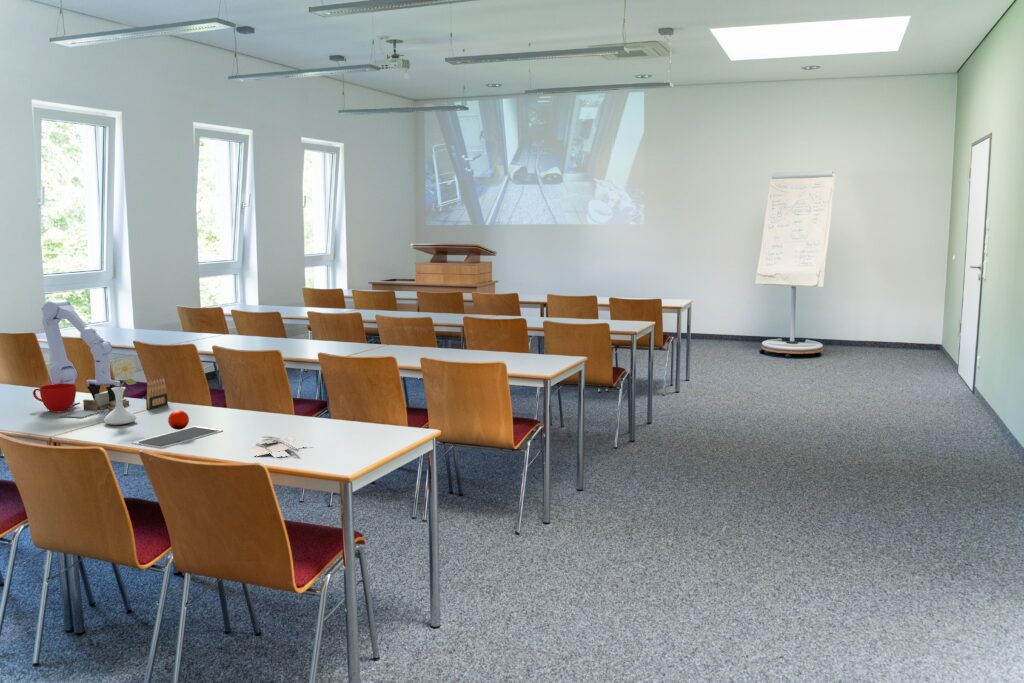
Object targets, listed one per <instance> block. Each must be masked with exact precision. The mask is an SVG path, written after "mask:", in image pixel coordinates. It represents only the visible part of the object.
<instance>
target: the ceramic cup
mask: <svg viewBox="0 0 1024 683" xmlns="http://www.w3.org/2000/svg"><path fill="white" fill-rule="evenodd" d="M37 391H38V392H39V394H40V398H39V396H38V395H37V394H36V392H37ZM32 395H33V396H32V397H34V399H36V400H37V401H39V402H40V403H41V402H42V404H43V405H44V406H45V408H47V410H48V411H49V412H50V413H61V412H68V411H69V409H70V408H72V406H73V405H72V404H73V403H74V400H75V401H76V395H77V386H76V384H75V383H74V384H53V383H51V384H47V385H42V386H40V387H39V388H35V389H34V390H33V391H32Z"/></svg>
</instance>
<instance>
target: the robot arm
mask: <svg viewBox="0 0 1024 683" xmlns="http://www.w3.org/2000/svg"><path fill="white" fill-rule="evenodd" d="M41 311H42V325H43V326H42V327H43V330H44V333H45V337H46V341H47V345H48V348H49V352H50V356H51V360H52V364H51V366H50V367H49V379H50V381H51V384H74V385H75V382H76V381H75V380H77V378H78V372H77V369H76V368H75V367H74V363H72V362H71V361H70V360H69V359H68V356H67V351H66V349H65V345H64V341H63V337H62V333H61V329H60V326H59V324H60V322H61V321H62V319H63V320H67V321H68V322H69V323H70V324H71V325H72V326H73V327H74V328H75V329H76V330H77V331H78V332H79V333H80V335H79V336H80V339H82V340H83V341H84V342H85V344H86V345H87V346H88V347H89V348H90V354H91V355H92V357H93V360H94V375H95V376H94V379H87V380H86V382H85V383H86V386H87V387H86V388H87V390H88V391H89V392H90V394H91V397H92V400H95V394H98V393H100V392H101V386H106V387H105V389H106V391H108V395H109V403H110V402H111V401H114V400H115V394H114V392H113V390H112V389H111V388H114V387H120V386H121V381H120V380H113V379H112V378H111V361H110V360H111V359H110V354H111V353H112V351H113V345H112V344H111V342H110V341H108V340H106V339H104V338H102V337H101V336H100V334H99V333H97V330H96V329H95V328H93V327H89V326H87V325H86V323H85V322H84V321H83V319H82V318H81V317H80V315H79V314H78V313H77V312H76V310H75V308H74V305H72V304H71V302H70V301H69V300H66V299H62V300H55V301H46V303H45V304H44V305H43V306H42V307H41ZM112 380H113V381H115V382H118V383H120V384H118V383H115V382H113V381H112ZM79 404H81V402H80V401H76V399H75V400H74V403H73V404H72V406H74V405H79Z"/></svg>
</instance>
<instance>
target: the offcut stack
mask: <svg viewBox="0 0 1024 683" xmlns="http://www.w3.org/2000/svg"><path fill="white" fill-rule="evenodd" d="M122 402H123V406H124V408H125V407H127V406H130V400H127V398H124V399H122ZM110 404H111V406H110V407H108V410H114V409H115V407H116V400H114V401H111V402H110Z"/></svg>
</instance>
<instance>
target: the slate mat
mask: <svg viewBox="0 0 1024 683" xmlns="http://www.w3.org/2000/svg"><path fill="white" fill-rule="evenodd" d="M101 412H102V413H103V412H104V411H103V410H97V411H96V410H84V409H79V410H76V411H71V412H69V413H64V414H61V415H59V417H60V418H70V419H71V418H72V419H84V417H85V418H88V417H91V416H94V414H95V415H98V414H100V413H101ZM87 416H88V417H87Z"/></svg>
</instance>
